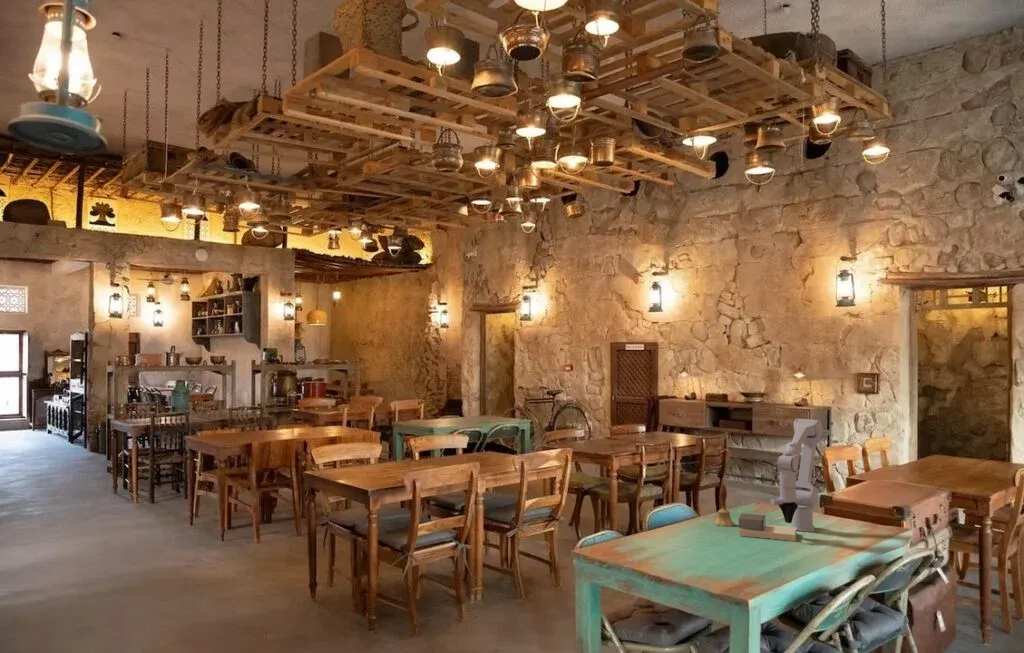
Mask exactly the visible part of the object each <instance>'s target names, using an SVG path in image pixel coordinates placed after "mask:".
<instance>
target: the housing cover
mask: <svg viewBox="0 0 1024 653" xmlns="http://www.w3.org/2000/svg"><path fill="white" fill-rule="evenodd" d="M765 525H767V524H766V515H765V514H764V515H763V514H755V513H754V514H752V513H740V515H739V517H738V529H740V528H741V529H752V530H762V531H763V530H764V528H765Z"/></svg>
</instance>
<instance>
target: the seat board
mask: <svg viewBox="0 0 1024 653" xmlns="http://www.w3.org/2000/svg"><path fill="white" fill-rule="evenodd" d="M738 529H739V530H738V532H739V535H738V536H739V537H745V536H746V537H747V538H755V537H758V538H757V539H765V538H770V539H769V540H775V539H778V540H777V541H785V540H787V541H786V542H796V538H797V531H798V530H797V528H794V527H792V526H783V525H782V526H781V525H771V524H766V525H765V528H764V530H763V531H762V530H752V529H741V528H738ZM759 537H760V538H759Z"/></svg>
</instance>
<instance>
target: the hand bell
mask: <svg viewBox="0 0 1024 653" xmlns="http://www.w3.org/2000/svg"><path fill="white" fill-rule="evenodd" d="M719 490H720V491H719V492H720V498H721V508H720V509H719V510H718V511H717V517H716V520H714V522H713V525H715V524H716V525H715V526H718V525H721V526H720V527H734V526H735V525H736V524H735V522H734V521H733V519H732V518H731V513H730V511H729V510H728V509H727V504H726V503H727V496H728V493H727V492H728V491H727V490H728V489H727V488H726V485H725V484H722V485H721V488H720V489H719Z"/></svg>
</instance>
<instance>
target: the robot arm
mask: <svg viewBox="0 0 1024 653" xmlns="http://www.w3.org/2000/svg"><path fill="white" fill-rule="evenodd" d="M793 431H794V432H793V433H794V435H793V437H792V440H791V441H790V442H788V443H787V445H786V447H785V449H784V451H783V453H782V455H779V456H778V457H777V461H776V467H777V473H778V475H779V497H776V498H771V499H770V505H771V506H778V507H779V508H780V510H781V512H782V514H783V519H784V523H787V524H792V526H791V527H794V528H797V531H799V532H809V533H811V532H812V533H814V532H815V531H814V530H815V525H814V524H813V523H814V520H813V518H814V515H813V508H815V507H816V506H817V504H818V489H817V487H815V486H814V485H813V484H812V476H813V471H814V470H813V469H814V464H815V462H814V461H815V455H816V448H817V444H818V443H820V442H821V440H822V436H823V435H822V434H823V423H822V421H821V420H820V419H811V418H809V419H808V418H799V417H797V418H795V419H794V421H793ZM799 459H800V461H799ZM799 462H800V463H799ZM798 468H799V469H798ZM797 470H799V471H798V478H797V477H796V475H797V474H796V471H797ZM796 478H797V481H796ZM792 522H793V523H792Z"/></svg>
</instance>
